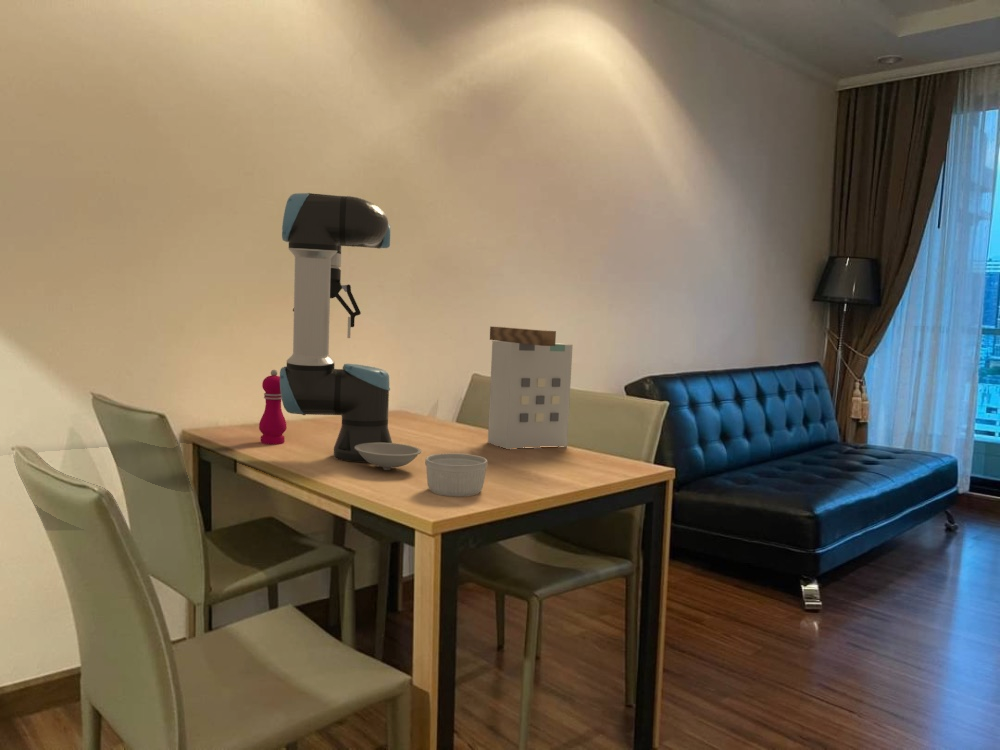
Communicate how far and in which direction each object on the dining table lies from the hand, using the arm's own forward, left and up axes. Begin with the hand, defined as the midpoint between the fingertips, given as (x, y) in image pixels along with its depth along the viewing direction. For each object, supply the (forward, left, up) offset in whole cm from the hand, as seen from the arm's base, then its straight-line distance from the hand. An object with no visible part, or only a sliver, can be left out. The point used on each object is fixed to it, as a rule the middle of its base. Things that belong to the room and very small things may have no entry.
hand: (326, 337), depth 239 cm
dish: (-61, -16, -29) cm, 70 cm away
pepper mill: (-26, +13, -29) cm, 41 cm away
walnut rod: (-29, -55, +2) cm, 62 cm away
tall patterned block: (-25, -59, -28) cm, 70 cm away
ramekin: (-83, -29, -29) cm, 93 cm away
